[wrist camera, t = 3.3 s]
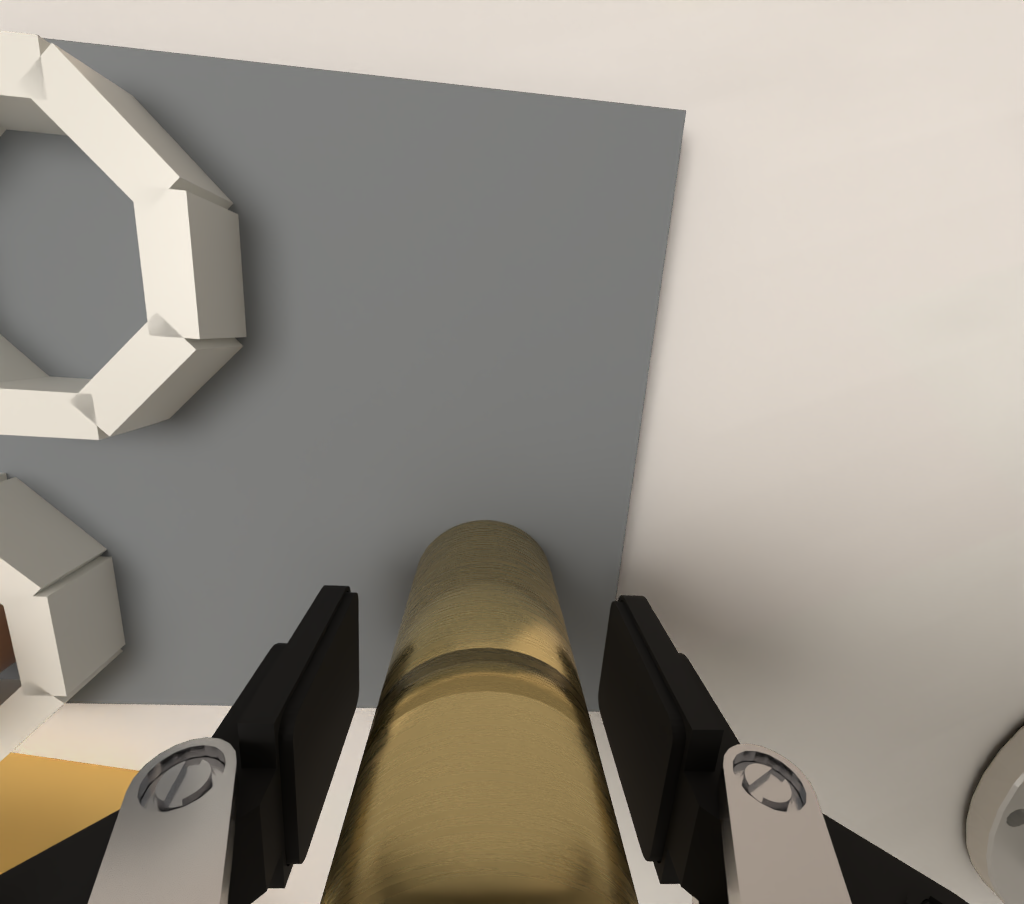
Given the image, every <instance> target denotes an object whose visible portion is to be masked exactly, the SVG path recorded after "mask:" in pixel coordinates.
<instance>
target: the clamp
mask: <svg viewBox="0 0 1024 904" xmlns="http://www.w3.org/2000/svg"><path fill="white" fill-rule="evenodd" d="M138 772H139V771H136V770H129V769H122V768H115V767H108V766H102V765H95V764H88V763H81V762H74V761H67V760H60V759H53V758H46V757H39V756H32V755H25V754H19V753H12V752H10V753H9V754H8V755H7V756H6V757H5V758H4V759H3V760H1V761H0V874H2V873H4V872H6V871H8V870H9V869H11V868H13V867H15V866H17V865H19V864H20V863H22V862H24V861H26V860H28V859H30V858H31V857H33V856H35V855H37V854H39V853H41V852H42V851H44V850H46V849H48V848H50V847H52V846H53V845H55V844H57V843H59V842H61V841H62V840H64V839H66V838H68V837H70V836H72V835H73V834H75V833H77V832H79V831H81V830H83V829H84V828H86V827H88V826H90V825H92V824H94V823H95V822H97V821H99V820H101V819H103V818H105V817H106V816H108V815H110V814H112V813H114V812H115V811H117V810H119V809H120V808H121V805H122V802H123V799H124V796H125V793H126V791H127V789H128V787H129V785H130V783H131V781H132V780H133V778H134V777H135V776H136V775H137V773H138Z"/></svg>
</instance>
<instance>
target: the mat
mask: <svg viewBox="0 0 1024 904" xmlns="http://www.w3.org/2000/svg"><path fill="white" fill-rule="evenodd" d="M43 39H44V40H46V41H47V42H49V43H53V44H55V45H56V46H58V47H59V48H61V49H62V50H64V51H65V52H67V53H68V54H70V55H71V56H73V57H75V58H76V59H78V60H79V61H81V62H82V63H84V64H85V65H87V66H88V67H90V68H91V69H93V70H94V71H96V72H97V73H99V74H100V75H102V76H103V77H105V78H106V79H108V80H110V81H111V82H113V83H114V84H116V85H117V86H119V87H120V88H122V89H123V90H125V91H126V92H128V93H129V94H131V95H132V96H133V97H134V98H135V99H136V100H137V101H138V102H139V103H140V104H141V105H142V106H143V107H144V108H145V109H146V110H147V112H148V113H149V114H150V115H151V116H152V117H153V118H154V119H155V120H156V121H157V122H158V123H159V124H160V125H161V127H162V128H163V129H164V130H165V131H166V132H167V133H168V134H169V135H170V136H171V137H172V138H173V139H174V140H175V142H176V143H177V144H178V145H179V146H180V147H181V148H182V149H183V150H184V151H185V152H186V153H187V154H188V155H189V156H190V158H191V159H192V160H193V161H194V162H195V163H196V164H197V165H198V166H199V167H200V168H201V169H202V170H203V171H204V173H205V174H206V175H207V176H208V177H209V178H210V179H211V180H212V181H213V182H214V183H215V184H216V185H217V186H218V187H219V189H220V190H221V191H222V192H223V193H224V194H225V195H226V196H227V197H228V198H229V199H230V200H231V201H232V202H233V204H232V205H231V206H230V207H229V209H228V210H230V211H232V212H234V213H236V214H238V218H239V233H240V248H241V262H242V277H243V292H244V307H245V322H246V337H237V338H236V339H237V340H238V341H239V342H240V343H241V344H242V345H243V347H242V348H241V349H240V350H239V351H238V352H237V353H236V354H235V355H234V356H233V357H232V358H231V359H230V360H229V361H228V362H227V363H226V364H225V365H224V366H223V367H221V368H220V369H219V370H218V371H217V372H216V373H215V374H214V375H213V376H212V377H211V378H210V379H209V380H208V381H207V382H206V383H205V384H204V385H203V386H202V387H201V388H200V389H199V390H198V391H197V392H196V393H195V394H194V395H193V396H192V397H191V398H190V399H189V400H188V401H187V402H186V403H185V404H184V405H183V406H182V407H181V408H180V409H179V410H178V411H177V412H176V413H175V414H174V415H173V416H172V417H171V418H170V419H167V420H164V421H160V422H159V423H155V424H152V425H148V426H145V427H142V428H138V429H135V430H131V431H128V432H125V433H121V434H118V435H114V436H111V437H108V438H104V439H101V440H90V439H72V438H54V437H35V436H17V435H0V473H6V476H7V480H8V479H11V478H14V477H17V478H18V479H19V480H21V481H22V482H23V483H24V484H26V485H27V486H28V487H29V488H31V489H32V490H33V491H34V492H36V493H37V494H38V495H39V496H41V497H42V498H43V499H44V500H46V501H47V502H48V503H50V504H51V505H52V506H53V507H55V508H56V509H57V510H58V511H60V512H61V513H62V514H63V515H65V516H66V517H67V518H68V519H70V520H71V521H72V522H73V523H75V524H76V525H77V526H79V527H80V528H81V529H82V530H84V531H85V532H86V533H87V534H89V535H90V536H91V537H92V538H94V539H95V540H96V541H97V542H99V543H100V544H101V545H102V546H104V547H105V548H106V549H107V550H106V551H105V552H104V553H103V554H102V555H100V556H104V557H112V561H113V567H114V574H115V580H116V587H117V593H118V600H119V606H120V612H121V619H122V625H123V632H124V638H125V645H124V646H123V647H122V648H121V650H123V651H122V652H121V653H120V654H119V655H118V656H117V657H116V658H115V659H113V660H112V661H111V662H110V663H109V664H108V665H107V666H106V667H105V668H104V669H102V670H101V671H100V672H99V673H98V674H97V675H96V676H95V677H94V678H92V679H91V680H90V681H89V682H88V683H87V684H86V685H85V686H84V687H83V688H81V689H80V690H79V691H78V692H77V693H76V694H75V695H74V696H73V697H71V698H70V699H69V700H68V701H67V702H66V703H98V704H160V705H222V706H233V704H234V703H235V701H236V700H237V698H238V697H239V695H240V694H241V692H242V691H243V689H244V688H245V686H246V685H247V683H248V682H249V680H250V679H251V677H252V676H253V674H254V673H255V671H256V670H257V668H258V667H259V665H260V664H261V662H262V661H263V659H264V658H265V656H266V655H267V653H268V652H269V650H270V649H271V648H272V647H273V645H274V644H277V643H288V641H289V640H290V638H291V637H292V635H293V633H294V632H295V630H296V629H297V627H298V625H299V624H300V622H301V620H302V619H303V617H304V616H305V614H306V612H307V611H308V609H309V608H310V606H311V604H312V603H313V601H314V600H315V598H316V596H317V595H318V593H319V592H320V590H321V588H322V587H323V586H324V585H337V586H349V587H350V590H351V592H356V593H358V599H359V697H358V703H357V706H356V708H377V705H378V702H379V698H380V695H381V691H382V688H383V684H384V681H385V678H386V674H387V671H388V667H389V664H390V660H391V657H392V653H393V650H394V646H395V643H396V639H397V636H398V632H399V629H400V626H401V622H402V619H403V615H404V612H405V608H406V605H407V601H408V598H409V594H410V591H411V587H412V584H413V580H414V577H415V574H416V570H417V567H418V564H419V561H420V559H421V557H422V555H423V553H424V551H425V550H426V548H427V547H428V546H429V545H430V543H431V542H432V541H433V540H434V539H435V538H437V537H438V536H439V535H440V534H442V533H443V532H445V531H446V530H448V529H450V528H452V527H454V526H457V525H459V524H462V523H466V522H470V521H477V520H491V521H499V522H503V523H507V524H510V525H512V526H515V527H517V528H519V529H521V530H522V531H524V532H525V533H527V534H528V535H530V536H531V537H532V538H533V539H534V540H535V541H536V542H537V543H538V545H539V546H540V547H541V548H542V550H543V552H544V553H545V555H546V557H547V560H548V562H549V566H550V569H551V573H552V577H553V581H554V585H555V588H556V592H557V596H558V600H559V604H560V607H561V611H562V615H563V619H564V623H565V626H566V630H567V634H568V638H569V642H570V645H571V649H572V653H573V657H574V661H575V664H576V668H577V672H578V676H579V680H580V683H581V687H582V691H583V695H584V699H585V702H586V706H587V710H588V711H593V712H599V705H598V690H599V683H600V676H601V669H602V662H603V655H604V648H605V641H606V634H607V627H608V620H609V613H610V607H611V603H612V602H613V601H615V599H616V592H617V585H618V578H619V571H620V565H621V558H622V551H623V544H624V537H625V530H626V523H627V516H628V509H629V502H630V495H631V489H632V482H633V475H634V468H635V461H636V454H637V447H638V440H639V433H640V426H641V419H642V412H643V406H644V399H645V392H646V385H647V378H648V371H649V364H650V357H651V350H652V343H653V336H654V330H655V323H656V316H657V309H658V302H659V295H660V288H661V281H662V274H663V267H664V260H665V254H666V247H667V240H668V233H669V226H670V219H671V212H672V205H673V198H674V191H675V184H676V178H677V171H678V164H679V157H680V150H681V143H682V136H683V129H684V122H685V115H686V110H677V109H668V108H659V107H651V106H642V105H633V104H624V103H615V102H606V101H597V100H588V99H580V98H571V97H562V96H553V95H544V94H535V93H526V92H517V91H508V90H500V89H491V88H482V87H473V86H464V85H455V84H446V83H437V82H429V81H420V80H411V79H402V78H393V77H384V76H375V75H366V74H358V73H349V72H340V71H331V70H322V69H313V68H304V67H295V66H286V65H278V64H269V63H260V62H251V61H242V60H233V59H224V58H215V57H207V56H198V55H189V54H180V53H171V52H162V51H153V50H144V49H135V48H127V47H118V46H109V45H100V44H91V43H82V42H73V41H64V40H56V39H47V38H43ZM147 322H148V321H147V312H146V304H145V295H144V287H143V278H142V270H141V261H140V253H139V245H138V236H137V228H136V219H135V211H134V202H133V201H132V200H131V199H130V198H129V197H128V196H127V195H126V194H125V193H124V192H123V191H122V190H121V189H120V188H119V187H118V186H117V185H116V184H115V183H114V182H113V181H112V180H111V179H110V178H109V177H108V176H107V175H106V173H105V172H104V171H103V170H102V169H101V168H100V167H99V166H98V165H97V164H96V163H95V162H94V161H93V160H92V159H91V158H90V157H89V156H88V155H87V154H86V153H85V152H84V151H83V150H82V149H81V148H80V147H79V146H78V145H77V144H76V143H75V142H74V141H73V140H72V139H71V138H70V137H69V136H67V135H57V134H47V133H37V132H27V131H17V130H7V129H6V130H5V132H4V133H3V134H2V135H1V136H0V334H1V335H2V336H3V337H4V338H5V339H6V340H8V341H9V342H10V343H11V344H12V345H13V346H15V347H16V348H17V349H18V350H19V351H20V352H22V353H23V354H24V355H25V356H26V357H27V358H28V359H30V360H31V361H32V362H33V363H34V364H35V365H37V366H38V367H39V368H40V369H41V370H42V371H44V372H45V373H46V374H47V375H48V376H50V377H66V378H82V379H92V378H93V377H94V376H95V375H96V374H97V373H98V372H99V371H100V370H101V369H102V368H103V367H104V366H105V365H106V364H107V363H108V362H109V361H110V360H111V359H112V358H113V357H114V356H115V355H116V354H117V352H118V351H119V350H120V349H121V348H122V347H123V346H124V345H125V344H126V343H127V342H128V341H129V340H130V339H131V338H132V337H133V336H134V335H135V334H136V333H137V332H138V331H139V330H140V329H141V328H142V327H143V326H144V325H145V324H146V323H147ZM0 679H12V680H20V676H19V672H18V667H17V663H16V662H14V663H13V664H12V665H10V666H9V667H7V668H6V669H5V670H3V671H2V672H0Z"/></svg>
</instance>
